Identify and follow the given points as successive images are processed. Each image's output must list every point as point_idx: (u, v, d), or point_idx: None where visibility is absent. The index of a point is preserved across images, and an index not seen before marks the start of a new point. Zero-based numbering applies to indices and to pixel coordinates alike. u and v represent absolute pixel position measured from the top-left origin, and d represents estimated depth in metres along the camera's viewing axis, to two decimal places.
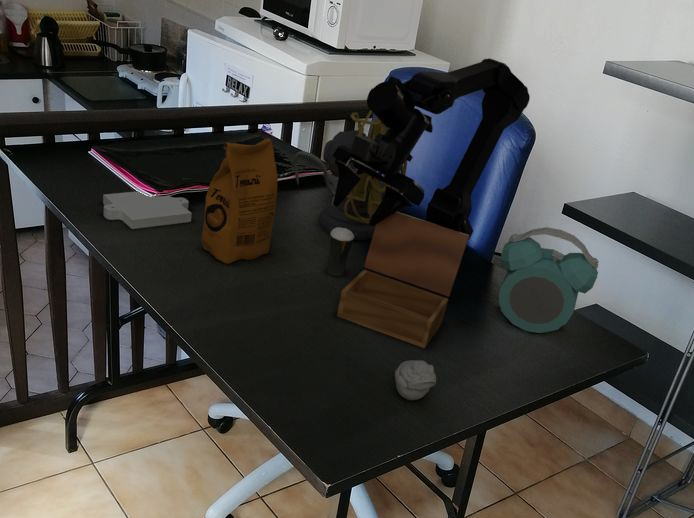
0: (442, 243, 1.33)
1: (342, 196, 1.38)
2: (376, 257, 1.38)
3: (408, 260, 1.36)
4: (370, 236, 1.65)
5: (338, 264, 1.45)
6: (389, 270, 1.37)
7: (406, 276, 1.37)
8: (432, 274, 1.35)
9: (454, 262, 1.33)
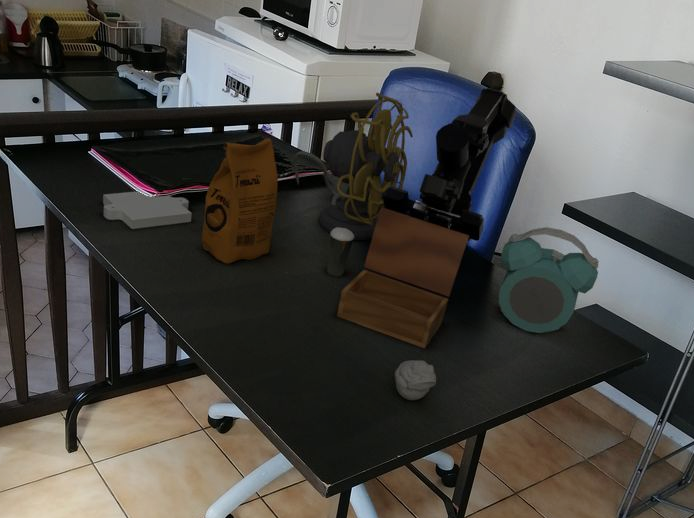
0: (442, 244, 1.33)
1: None
2: (376, 257, 1.38)
3: (408, 260, 1.36)
4: (370, 236, 1.65)
5: (338, 264, 1.45)
6: (389, 270, 1.37)
7: (406, 276, 1.37)
8: (432, 274, 1.35)
9: (454, 262, 1.33)
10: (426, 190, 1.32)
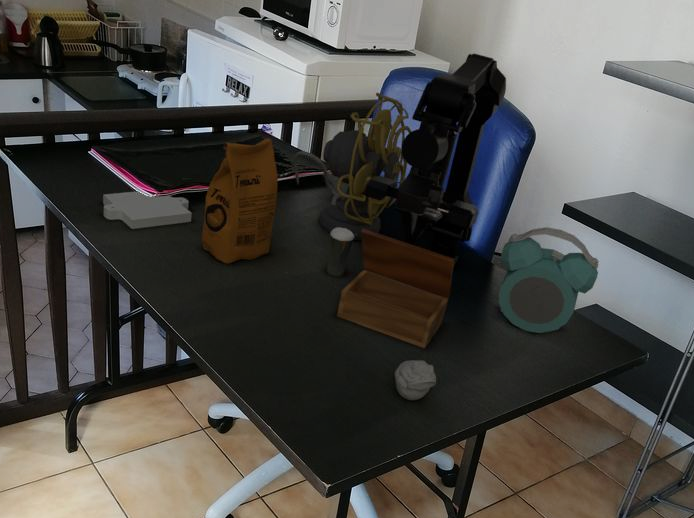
0: (429, 264, 1.29)
1: (411, 236, 1.29)
2: (372, 264, 1.36)
3: (402, 270, 1.34)
4: None
5: (338, 264, 1.45)
6: (387, 274, 1.37)
7: (404, 280, 1.36)
8: (427, 282, 1.34)
9: (445, 277, 1.30)
10: (402, 207, 1.19)
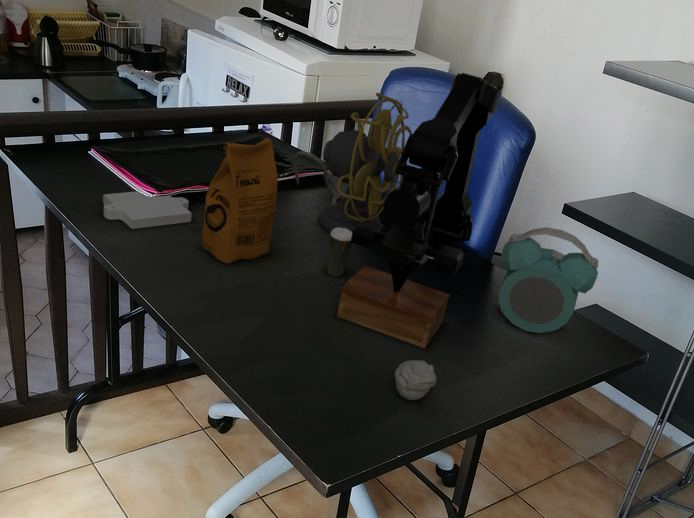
0: None
1: (399, 279, 1.32)
2: None
3: None
4: None
5: (338, 264, 1.45)
6: None
7: None
8: None
9: None
10: (387, 258, 1.22)
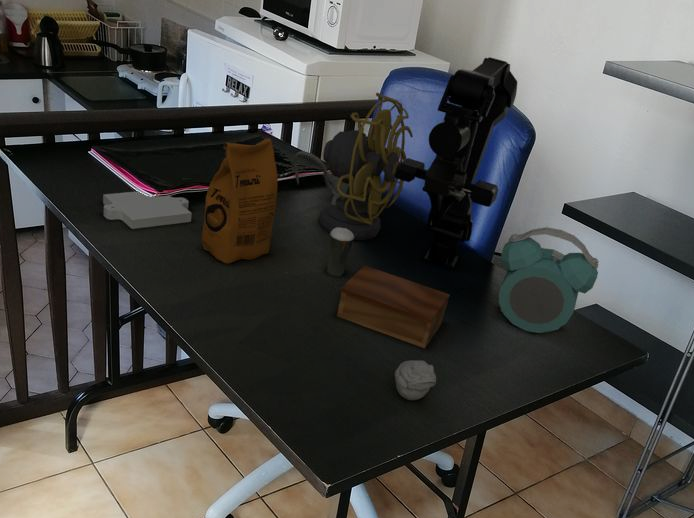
0: None
1: (438, 213, 1.44)
2: None
3: None
4: (370, 236, 1.65)
5: (338, 264, 1.45)
6: None
7: None
8: None
9: None
10: (429, 190, 1.34)
